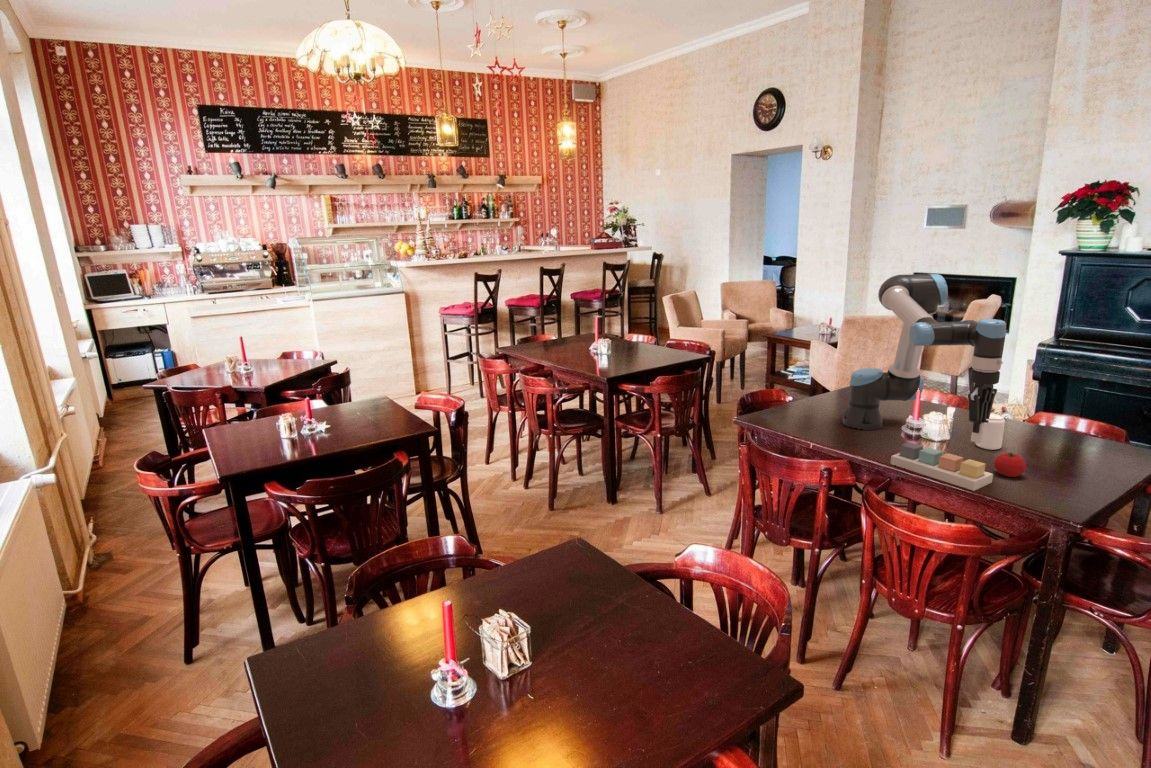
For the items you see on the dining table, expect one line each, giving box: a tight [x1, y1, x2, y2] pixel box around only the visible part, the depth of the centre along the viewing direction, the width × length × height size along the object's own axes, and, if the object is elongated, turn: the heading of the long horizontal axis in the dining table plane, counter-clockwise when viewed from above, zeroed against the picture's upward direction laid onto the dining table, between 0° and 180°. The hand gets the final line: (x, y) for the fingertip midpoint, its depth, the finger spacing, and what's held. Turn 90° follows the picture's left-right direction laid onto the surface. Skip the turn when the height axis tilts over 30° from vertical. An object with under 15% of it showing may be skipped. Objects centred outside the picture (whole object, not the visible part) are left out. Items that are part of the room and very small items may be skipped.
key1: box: [899, 441, 924, 460], centre depth 220 cm, size 5×5×4 cm
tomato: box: [993, 452, 1027, 478], centre depth 208 cm, size 9×9×8 cm
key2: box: [919, 447, 944, 466], centre depth 214 cm, size 5×5×4 cm
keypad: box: [889, 452, 994, 492], centre depth 212 cm, size 28×11×3 cm, turn 32°
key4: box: [960, 458, 986, 479], centre depth 203 cm, size 5×5×4 cm
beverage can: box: [975, 412, 1006, 451], centre depth 232 cm, size 8×8×12 cm
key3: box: [939, 452, 964, 472], centre depth 208 cm, size 5×5×4 cm
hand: (976, 441), depth 200 cm, fingers closed
